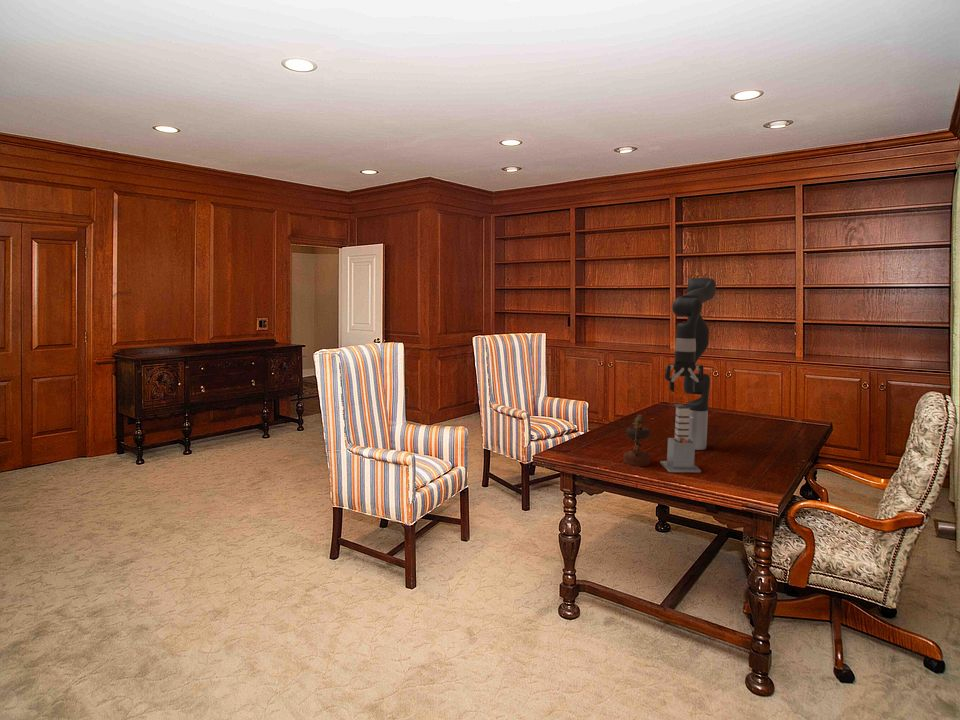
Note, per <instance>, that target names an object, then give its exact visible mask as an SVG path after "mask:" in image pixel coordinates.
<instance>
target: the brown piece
mask: <svg viewBox="0 0 960 720" xmlns="http://www.w3.org/2000/svg"><path fill="white" fill-rule="evenodd" d="M643 422H644V416H643V415H642V414H638V415H637V416H636V417H635V418H634V419H633V420H632V423H631V425H633V426H629V427H627V428H626V430H625V434H626V436H627V437H628V438H630V439H632V441H633V449H632V450H627V451H625V452H623V463H624V464H627V465H629V466H635V467H645V466H649V465H651V454H650V453H648V451H647V452H646V451H643V450H640V449H641V448H642V445H643V444H642V443H641V441H642V440H647V439H648V438H649V437H650V435H651V431H650V429H649V428H648V427H645V426H643Z"/></svg>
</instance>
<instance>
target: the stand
mask: <svg viewBox="0 0 960 720" xmlns="http://www.w3.org/2000/svg"><path fill="white" fill-rule="evenodd" d="M674 439H675V437H667V447H666V448H667V454H666V460H660V465H661V466H662V467H664V469H666V470H667V472H669V473H699V474H700V473H701V472H702V470H701V469H700V468H699V466H697V465H696V464H695V457H696V456H695V455H696V454H695V453H696V452H695V451H696V450H695V443H694V442H693V441H691V440H690V439H689V438H688V442H687V440H686V439H682V440H681V442H676V441H675V440H674Z"/></svg>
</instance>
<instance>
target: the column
mask: <svg viewBox="0 0 960 720" xmlns="http://www.w3.org/2000/svg"><path fill="white" fill-rule="evenodd" d="M673 406H674V407H675V420H674V421H675V422H674V423H675V424H674V438H675V439H674V440H675V441H676V442H681V440H682V439H686V440H687V442H688V436H689V435H688V434H689V413H690V409H691V408H692V407H691V406H690V405H688V404H687V403H686V404H685V403H682V404H681V403H674V404H673Z"/></svg>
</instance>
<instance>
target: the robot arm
mask: <svg viewBox="0 0 960 720" xmlns="http://www.w3.org/2000/svg"><path fill="white" fill-rule="evenodd" d="M686 287H687V291H686V292H687V293H686V294H684V295H681V296H678V297H676V298H675V299H674V301H673V303H672V305H671V306H672V307H671V310H672V313H673V314H674V315H675V316H677V317H687V321H682V322H679V323H678V324H677V325H676V331H675V332H676V337H675V342H674V343H675V344H674V345H675V346H674V363H673V364H671V365H670V364H667V363H666V365H665V371H664V380H666V381H668V382H669V384H668V385H669V386H668V387H669V391H670V392H673V393H674V392H675V381H676V380H677V379H678V378H679V376H680V377H683V391H684V393H685V394H687V395H688V394H689V395H698V396H699V395H700V396H699V398H697V399H694V400H690V401H688V402H686V404H688V405H690V406H691V407H692V408H691V409H690V413H689V434H688V435H689V436H688V438H689V439H690V440H691V441H693V442H694V443H695V451H697V450H698V451H699V450H700V451H701V450H702V451H703V450H707V441H708V440H707V437H708V422H709V421H708V417H709V415H708V414H709V398H710V397H709V396H710V387H711V377H710V375H709V374H707V373H704V365H702V364H698V365H696V364H697V362H698V360H699V359H700V358H701V356H702V355H703V354H704V353H705V351H706V350H707V348H708V346H709V342H710V329H709V326H708V324H707V323H706V322H705V320H704V318H703V316H702V315H701V312H702V309H703V304H705V303H706V302H708V301H710V300H712V299H713V298H714V297H715V295H716V290H717V286H716V281H715V280H714V278H710V277H690V278H689V279H688V281H687V286H686ZM672 370H674V372H673V373H672V375H671V371H672ZM695 370H696V371H697V373H696V372H695ZM694 372H695V373H694ZM670 376H671V377H670Z"/></svg>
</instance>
